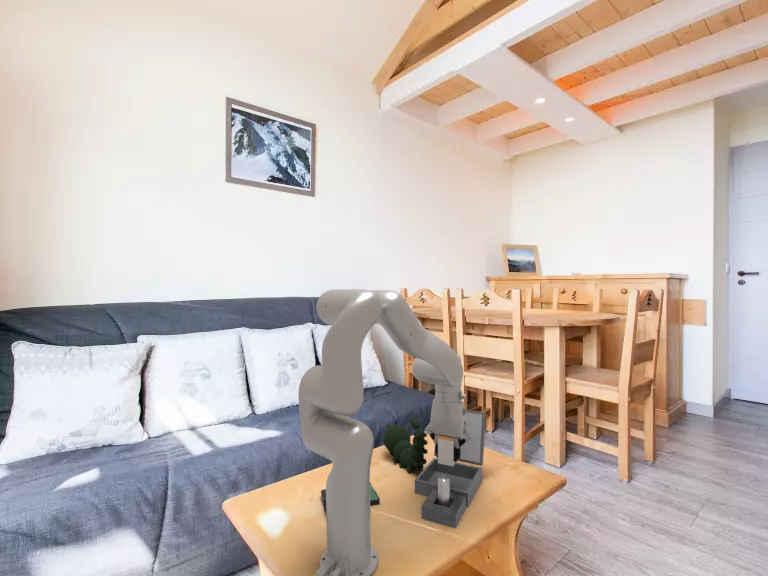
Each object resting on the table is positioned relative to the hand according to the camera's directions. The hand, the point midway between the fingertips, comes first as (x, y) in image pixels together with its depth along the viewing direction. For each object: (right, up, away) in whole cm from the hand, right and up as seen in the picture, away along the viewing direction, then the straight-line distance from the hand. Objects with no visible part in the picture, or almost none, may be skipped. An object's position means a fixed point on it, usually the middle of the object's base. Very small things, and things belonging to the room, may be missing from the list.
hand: (447, 457), depth 114 cm
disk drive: (-28, -11, -5) cm, 31 cm away
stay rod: (-3, -10, -13) cm, 16 cm away
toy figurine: (-12, -10, +18) cm, 23 cm away
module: (0, -1, 0) cm, 1 cm away
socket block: (-3, -10, -13) cm, 16 cm away
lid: (+5, +3, +9) cm, 11 cm away
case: (+1, -10, +1) cm, 10 cm away
